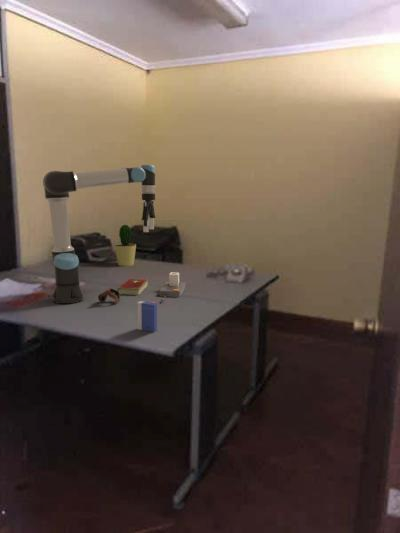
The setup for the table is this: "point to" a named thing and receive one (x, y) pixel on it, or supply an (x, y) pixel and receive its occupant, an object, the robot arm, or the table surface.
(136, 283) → the hardcover book
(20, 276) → the table surface
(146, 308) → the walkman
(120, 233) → the potted cactus
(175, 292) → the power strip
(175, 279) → the charger brick
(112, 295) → the brown arched piece
